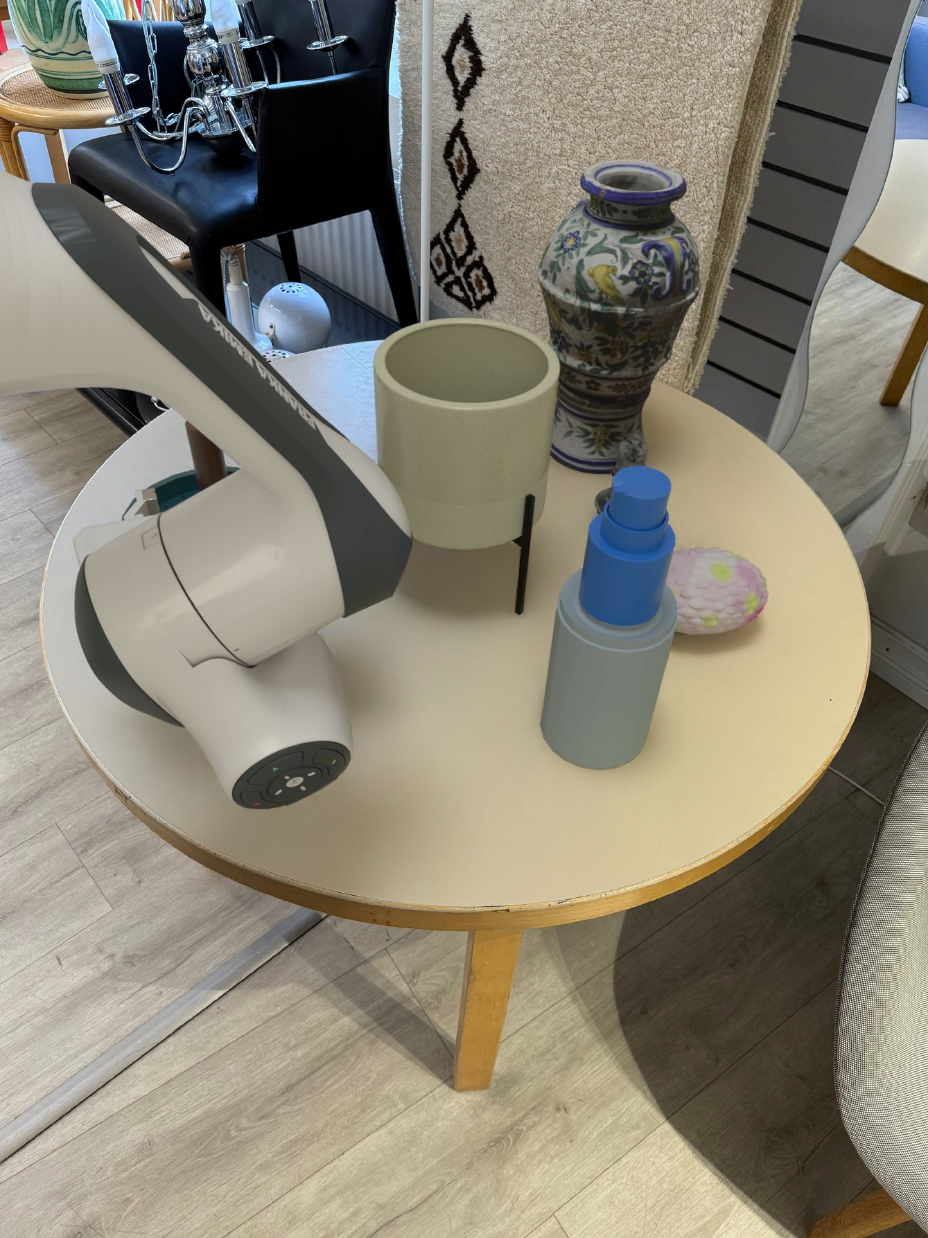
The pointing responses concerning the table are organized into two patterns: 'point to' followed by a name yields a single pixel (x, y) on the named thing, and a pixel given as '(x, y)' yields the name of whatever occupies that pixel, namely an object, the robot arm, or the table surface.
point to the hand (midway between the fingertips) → (208, 485)
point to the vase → (614, 304)
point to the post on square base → (205, 458)
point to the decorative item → (715, 590)
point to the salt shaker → (624, 465)
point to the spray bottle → (613, 628)
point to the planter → (467, 431)
